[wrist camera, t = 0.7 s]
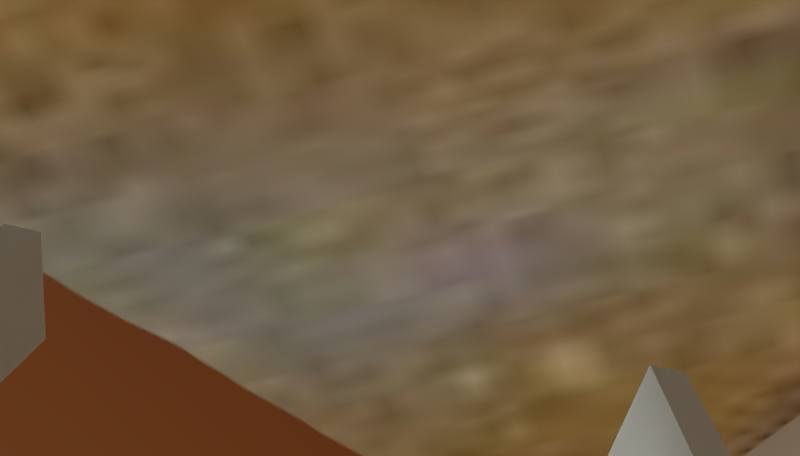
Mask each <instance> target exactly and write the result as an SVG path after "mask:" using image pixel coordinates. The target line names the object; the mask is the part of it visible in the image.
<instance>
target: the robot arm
mask: <svg viewBox="0 0 800 456" xmlns="http://www.w3.org/2000/svg"><path fill="white" fill-rule="evenodd" d="M45 339H46V337H45V316H44V294H43V273H42V252H41V232H39V231H34V230H29V229H25V228H20V227H16V226H11V225H6V224H4V225H2V226H1V227H0V382H1V381H2V380H3V379H5V378H6V376H7V375H9V374H10V373H11V372H12V371H13V370H14V369H15V368H16V367H17V366H18V365H19V364H20V363H21V362H22V361H23V360H24V359H25V358H26V357H27V356H28V355H29V354H30V353H31V352H33V351H34V350H35V348H37V347H38V346H39V345H40V344H41V343H42V342H43V341H44V340H45ZM608 456H731V455H730V453H729V452H728V450H727V448H726V446H725V444H724V442H723V441H722V439H721V437H720V435H719V433H718V431H717V430H716V428H715V426H714V424H713V422H712V420H711V419H710V417H709V415H708V413H707V411H706V409H705V408H704V406H703V404H702V402H701V400H700V398H699V397H698V395H697V393H696V391H695V389H694V387H693V386H692V384H691V382H690V380H689V378H688V376H687V375H686V373H685V372H681V371H677V370H672V369H668V368H663V367H658V366H654V365H650V366H649V368H648V370H647V373H646V375H645V377H644V379H643V381H642V383H641V386H640V388H639V390H638V392H637V394H636V396H635V398H634V401H633V403H632V405H631V407H630V409H629V411H628V413H627V416H626V418H625V420H624V422H623V424H622V426H621V428H620V431H619V433H618V435H617V437H616V439H615V441H614V443H613V446H612V448H611V450H610V452H609V454H608Z"/></svg>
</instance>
